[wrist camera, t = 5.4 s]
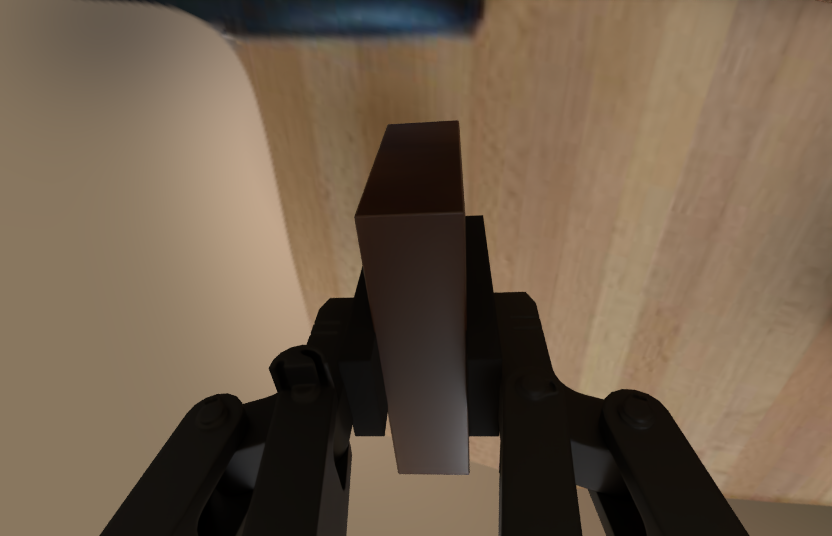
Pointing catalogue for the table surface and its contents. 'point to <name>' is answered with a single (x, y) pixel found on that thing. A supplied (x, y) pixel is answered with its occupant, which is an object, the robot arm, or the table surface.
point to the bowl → (828, 0)
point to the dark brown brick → (419, 291)
